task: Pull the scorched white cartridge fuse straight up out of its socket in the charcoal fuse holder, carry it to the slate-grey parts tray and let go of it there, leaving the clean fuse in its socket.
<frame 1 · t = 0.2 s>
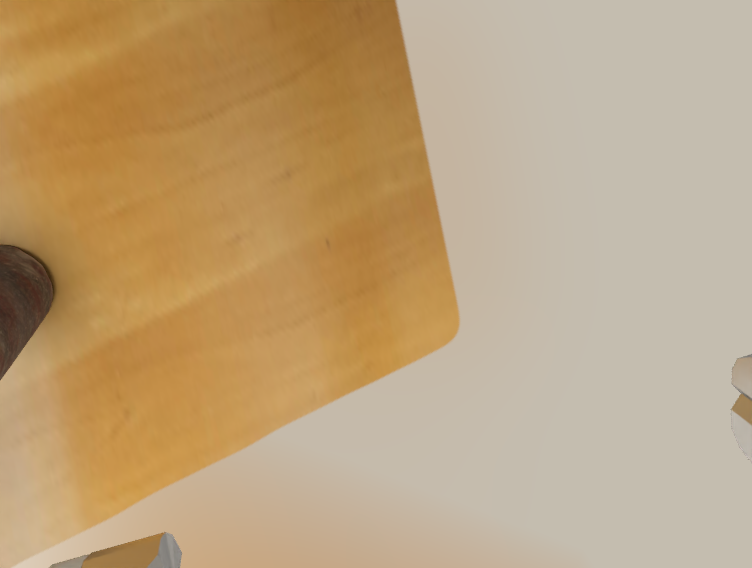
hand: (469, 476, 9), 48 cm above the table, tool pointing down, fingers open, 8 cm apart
candle: (13, 285, 53), on the table
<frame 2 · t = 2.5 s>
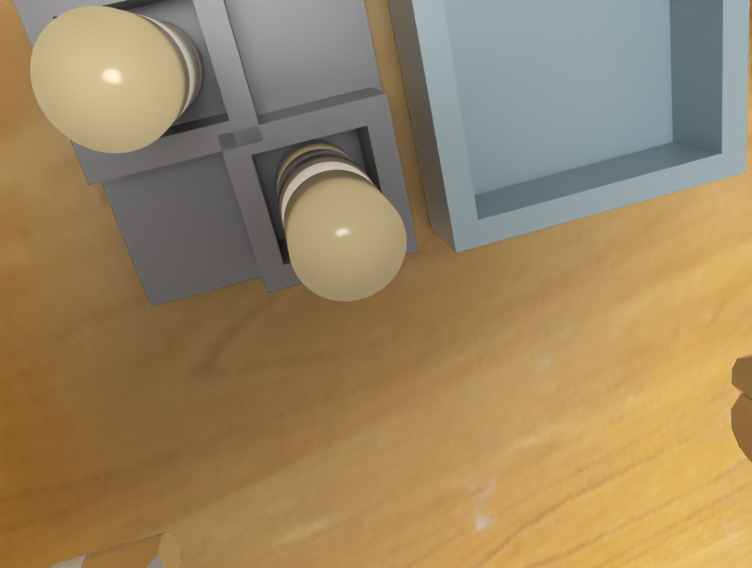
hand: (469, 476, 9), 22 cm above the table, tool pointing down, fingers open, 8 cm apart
fuse holder: (241, 123, 27), on the table
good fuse: (158, 67, 25), point 1 cm above the table, touching fuse holder
blown fuse: (315, 179, 28), point 1 cm above the table, touching fuse holder
parts tray: (547, 47, 29), on the table
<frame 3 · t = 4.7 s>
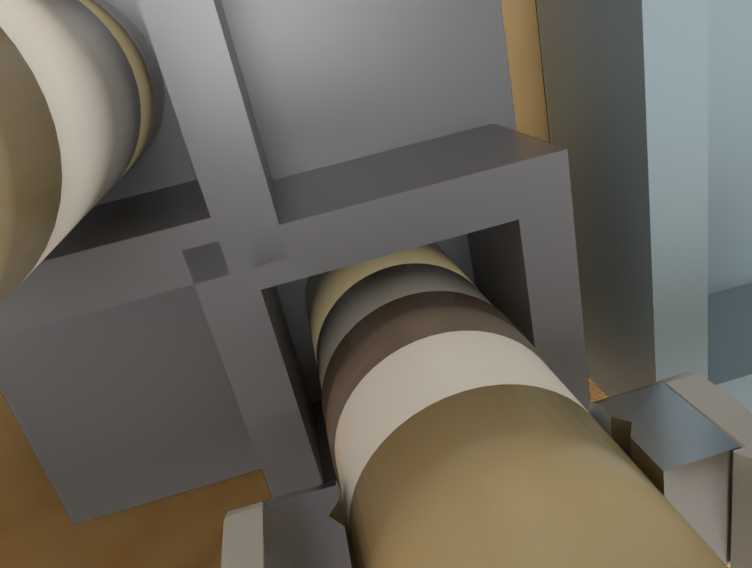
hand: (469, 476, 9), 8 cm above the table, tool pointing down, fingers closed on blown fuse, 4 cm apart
fuse holder: (240, 192, 14), on the table
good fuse: (65, 87, 12), point 1 cm above the table, touching fuse holder
blown fuse: (381, 295, 15), point 1 cm above the table, touching fuse holder, gripper
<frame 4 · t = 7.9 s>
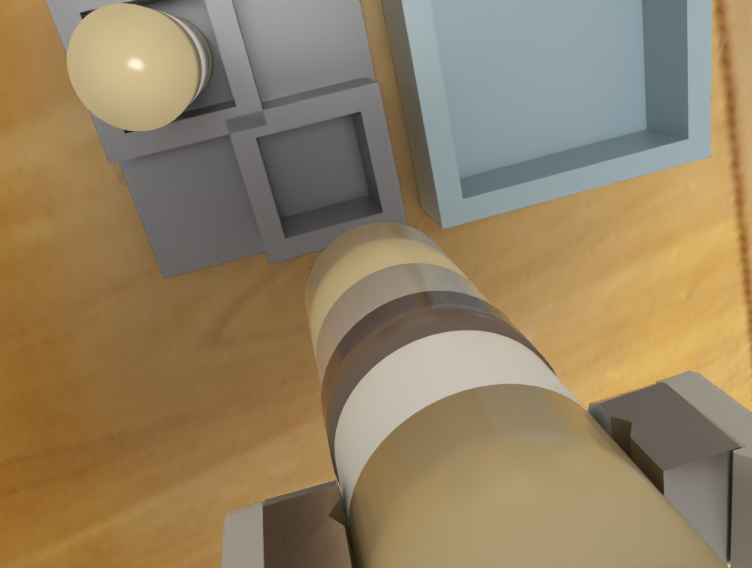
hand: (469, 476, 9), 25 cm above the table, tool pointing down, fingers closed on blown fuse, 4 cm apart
fuse holder: (246, 110, 30), on the table
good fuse: (172, 58, 28), point 1 cm above the table, touching fuse holder
blown fuse: (380, 295, 15), point 18 cm above the table, touching gripper
parts tray: (529, 41, 31), on the table
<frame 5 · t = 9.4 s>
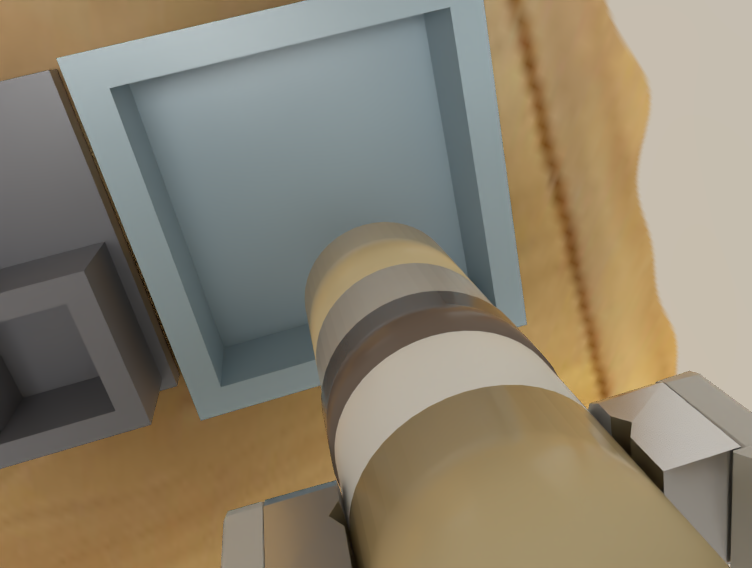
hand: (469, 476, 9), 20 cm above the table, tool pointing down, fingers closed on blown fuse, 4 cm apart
blown fuse: (381, 295, 15), point 13 cm above the table, touching gripper
parts tray: (315, 187, 27), on the table
when the fingers open (9 cm above the table, at t = 11.0 s): blown fuse drops 1 cm, resting on parts tray.
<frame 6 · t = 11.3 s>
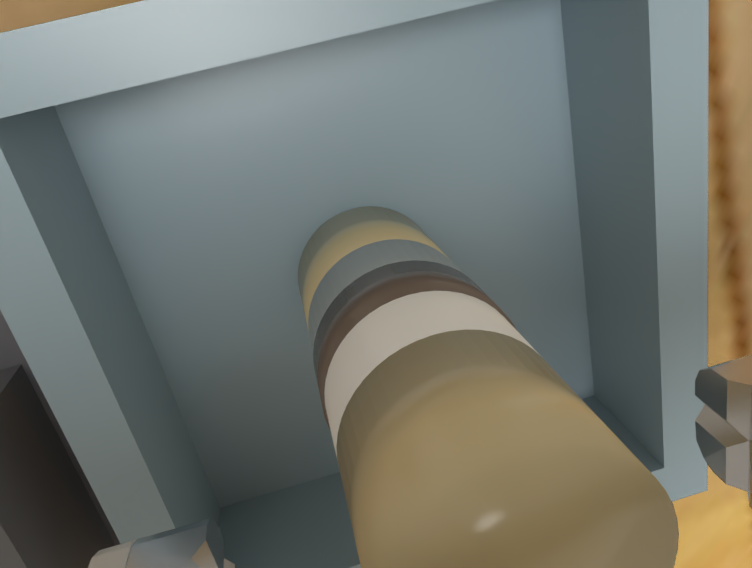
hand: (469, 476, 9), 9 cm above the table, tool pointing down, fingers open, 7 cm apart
blown fuse: (367, 274, 16), point 1 cm above the table, touching parts tray
parts tray: (366, 266, 17), on the table
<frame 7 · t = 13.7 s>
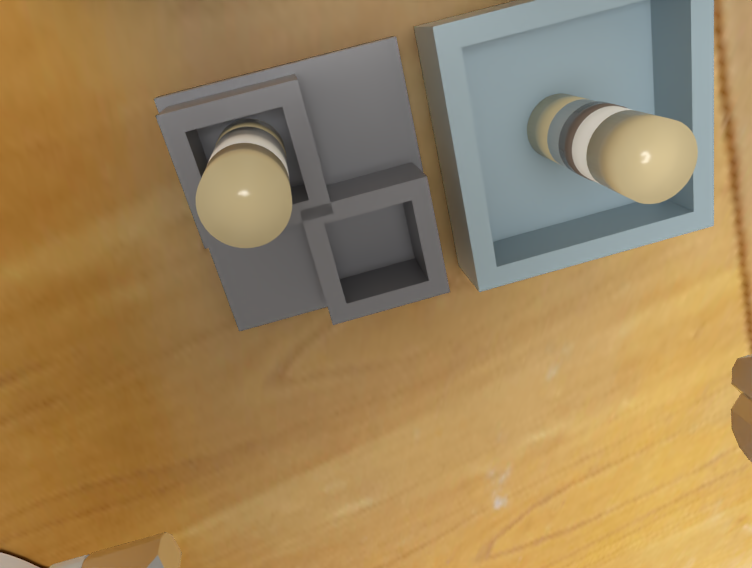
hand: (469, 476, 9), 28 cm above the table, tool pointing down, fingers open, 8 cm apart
fuse holder: (310, 190, 35), on the table
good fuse: (251, 153, 33), point 1 cm above the table, touching fuse holder
blown fuse: (557, 126, 35), point 1 cm above the table, touching parts tray
parts tray: (554, 124, 36), on the table
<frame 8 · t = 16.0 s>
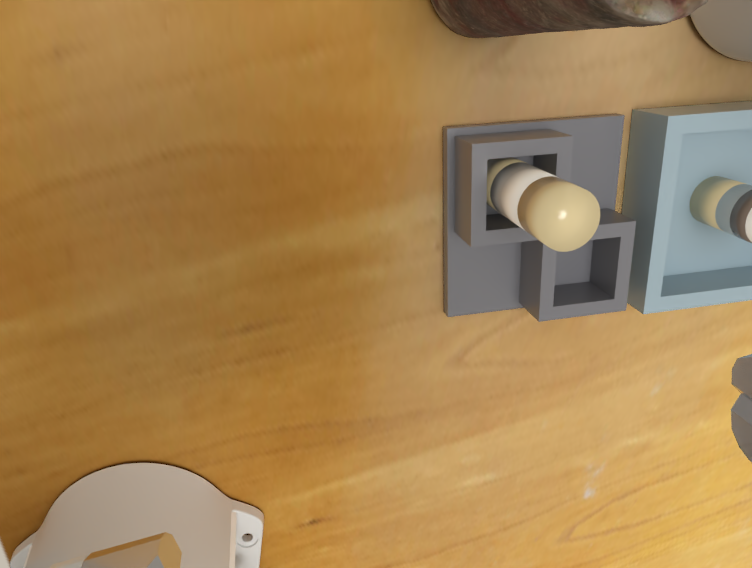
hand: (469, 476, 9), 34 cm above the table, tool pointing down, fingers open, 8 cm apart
fuse holder: (527, 216, 45), on the table
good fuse: (500, 181, 42), point 1 cm above the table, touching fuse holder
blown fuse: (711, 199, 47), point 1 cm above the table, touching parts tray
parts tray: (706, 198, 47), on the table
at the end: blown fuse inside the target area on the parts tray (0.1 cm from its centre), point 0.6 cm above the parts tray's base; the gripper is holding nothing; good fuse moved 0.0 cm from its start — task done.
